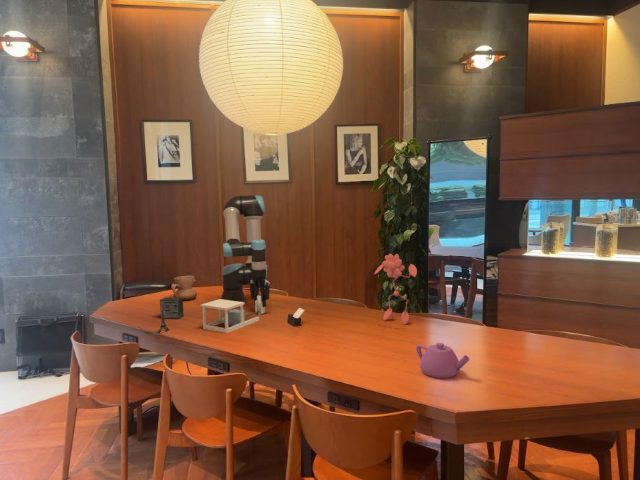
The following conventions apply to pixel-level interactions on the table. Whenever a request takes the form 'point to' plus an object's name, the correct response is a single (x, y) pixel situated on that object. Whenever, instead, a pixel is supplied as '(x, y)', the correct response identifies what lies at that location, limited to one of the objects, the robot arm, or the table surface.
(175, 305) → the small box
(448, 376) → the teapot
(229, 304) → the frame
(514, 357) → the table surface
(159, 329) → the eiffel tower figurine
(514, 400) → the table surface
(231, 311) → the block
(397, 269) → the pink flower figurine
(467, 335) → the table surface
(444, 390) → the table surface
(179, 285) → the ceramic jug
